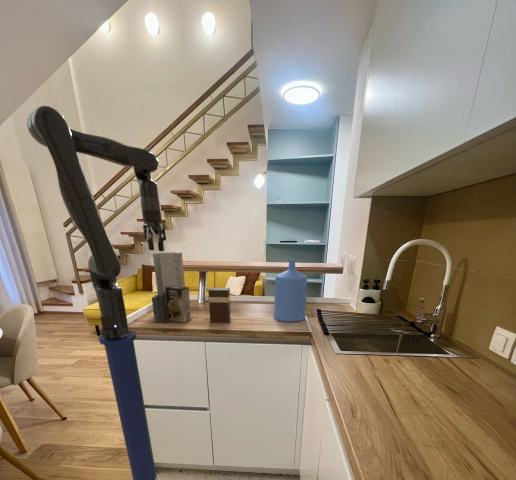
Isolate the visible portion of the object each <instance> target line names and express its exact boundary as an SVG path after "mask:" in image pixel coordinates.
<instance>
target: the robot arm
mask: <svg viewBox="0 0 516 480" xmlns="http://www.w3.org/2000/svg"><path fill="white" fill-rule="evenodd" d="M26 127H27V130H28V132H29V134H30V136H31V137H32V138H33V140H35V142H37V143H38V144H40V145H41V146H43V147H46V148H47V150H48V152H49V154H50V157H51V159H52V161H53V164H54V168H55V171H56V176H57V183H58V187H59V188H58V189H59V192H60V196H61V198H62V201H63V204H64V206H65V208H66V211H67V213H68V215H69V217H70V218H71V220H72V222H73V224H74V225H75V227H76V228H77V229H78V231H79V232H80V233H81V235H82V237H84V239H85V241H86V243H87V245H88V247H89V250H90V252H91V255H90V256H89V258H88V261H87V262H88V264H87V265H88V272H89V277H90V279H91V284H92V287H93V289H94V291H95V293H96V299H97V302H98V308H99V312H100V317H99V318H100V322H101V323H100V324H101V327H102V329H101V335H102V336H103V337H105V339H107V340H109V339H121V338H124V337H127V336H129V335H130V332H129V330H130V327H129V323H128V316H127V311H126V306H125V300H124V299H125V298H124V293H123V288H122V287H121V285H120V283H119V282H118V280H117V277H119V275H120V273H121V272H122V271H121V270H122V266H121V262H120V260H119V257H118V255H117V253H116V251H115V249H114V247H113V245H112V243H111V241H110V239H109V236H108V233H107V231H106V228H105V226H104V222H103V220H102V217H101V214H100V212H99V208H98V206H97V203H96V201H95V198H94V195H93V193H92V191H91V188H90V186H89V182H88V181H87V178H86V176H85V173H84V171H83V168H82V165H81V163H80V160H79V156H78V154H82V155H86V156H89V157H93V158H97V159H100V160H103V161H106V162H109V163H111V164H112V163H113V164H115V165H118V166H121V167H126V168H129V167H131V168H133V172H134V176H135V178H136V181H137V183H138V187H139V188H138V190H139V195H140V196H139V197H140V207H141V208H140V209H141V215H142V221H143V222H144V223H146V224H143V225H142V229H143V238H144V240H146V242H147V247H148V251H155V245H154V244H155V243H154V238H155V239H156V240H157V241H156V242H157V250H158V252H165V246H164V245H165V244H164V242H165V241H166V240H167V236H166V235H167V234H166V228H165V225H164V224H161V223H162V222H163V217H162V207H161V202H160V196H159V186H158V183H157V182H156V181H155V180H153V178H152V173H154V172H157V170H158V168H159V165H160V164H159V160H158V158H157V156H156V155H155V154H154V153H153V152H151V151H150V150H149V149H144V148H140V147H136V146H130V145H128V144H125V143H122V142H119V141H117V140H115V139H111V138H108V137H105V136H102V135H101V136H100V135H95V134H90V133H85V132H81V131H78V130H75V129H72V128H70V127H69V124H68V122H67V121H66V119H65V118H64V116H63V115H62V114H61V113H60V112H59V111H58V110H56V109H55V108H53V107H52V106H48V105H41V106H39V107H37V108H36V109H35V110H33V112H32V113H30V114H29V115H28V118H27V120H26Z"/></svg>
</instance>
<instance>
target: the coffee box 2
mask: <svg viewBox="0 0 516 480" xmlns="http://www.w3.org/2000/svg"><path fill="white" fill-rule="evenodd" d="M207 291H208V308H209V322H210V323H220V324H221V323H222V324H228V323H230V321H231V292H230V287H210V288H209V289H208V290H207Z"/></svg>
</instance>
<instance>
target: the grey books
mask: <svg viewBox="0 0 516 480" xmlns="http://www.w3.org/2000/svg"><path fill="white" fill-rule="evenodd" d="M151 302H152V311H153V317H154V319H153V320H154V323H155V324H159V323H160V324H166V323H167V322H168V321H170V320H169V316H168V307H167V298H166V291H164V292H163V293H159V294H158V293H157V294H156V295H154V296H152V297H151Z"/></svg>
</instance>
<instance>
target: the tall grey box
mask: <svg viewBox="0 0 516 480" xmlns="http://www.w3.org/2000/svg"><path fill="white" fill-rule="evenodd" d="M152 259H153V268H154V276H155V282H156V283H155V284H156V291H157V295H158V294H159V293H163V292H164V291H166V289H165V287H169V286H182V287H186V282H185V272H184V271H185V270H184V262H183V261H184V260H183V253H182V252H158V253H157V252H156V253H155V252H154V253H152Z"/></svg>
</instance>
